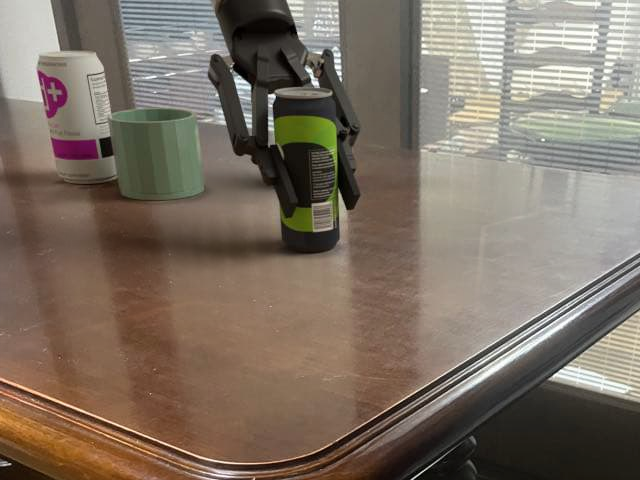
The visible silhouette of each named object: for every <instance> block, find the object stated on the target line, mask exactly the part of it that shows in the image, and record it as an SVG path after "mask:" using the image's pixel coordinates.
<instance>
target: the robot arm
mask: <svg viewBox="0 0 640 480" xmlns="http://www.w3.org/2000/svg"><path fill="white" fill-rule="evenodd" d="M209 2H210V3H211V6H212V9H213V13H214V15H215V17H216V19H217V22H218V25H219V28H220V32H221V35H222V37H223V39H224V42H225V45H226V48H227V51H228V53H229V55H226V56H223V57H222V56H221V55H220V54H218V53H213V54H211V56H210V58H209V65H208V69H207V78H208V80H209V81H210V82H211V84H212V86H213V87H214V89H215V90H216V92H217V95H218V98H219V103H220V106H221V111H222V114H223V117H224V122H225V125H226V129H227V132H228V136H229V140H230V143H231V147H232V151H233V154H235V156H237V157H243V156H245V155H247V156H250V162H251V163H252V164H253V165H255V166H257V168H258V170H259V173H260V175H261V179H262V181H263V183H264V184H265V185H266V187H271V186H273V188H274V190H275V194H276V197H277V200H278V203H280V205H281V208H282V211H283V214H284V217H285V218H292V216H293V214H294V211H295V209H296V207H297V204H298V200H297V197H296V195H295V192H294V189H293V186H292V184H291V181H290V178H289V175H288V172H287V170H286V167H285V164H284V161H283V159H282V156H281V153H280V150H279V148H278V145H277V144H275V143H274V144H270V145H269V95H274V91H275V90H278V89H283V88H293V87H315V85H314V84H313V82H312V76H313V78H314V79H316V80H317V83H318V86H319V87H318V88H325V89H329V90H331V91H332V95H331V97H332V99H333V100H334V102H335V108H336V138H337V168H338V192H339V193H340V195H341V199H342V202H343V204H344V207H345V209H346V211H353V210H354V209H355V207H356V206H357V203H358V201H359V199H360V197H361V191H360V188H359V185H358V183H357V180H356V178H355V175H354V174H355V172H356V170H357V164H358V163H357V161H356V159H355V156H354V152H353V153H352V150H351V147H350V146H352V145H354V146H355V144H356V141H357V139H358V136H359V135H360V132H361V130H362V125H361V123H360V120H359V118H358V116H357V113H356V112H355V109H354V107H353V105H352V103H351V101H350V98H349V96H348V94H347V92H346V90H345V87H344V85H343V83H342V81H341V79H340V76H339V74H338V72H337V70H336V67H335V65H336V64H335V54H334V52H333V50H331V49H329V48H324V49H323V50H322V52H321V53H317V52H311V51H309V50H308V48H307V47H306V45H305V44H304V43H303V42H302V41H301V39H300V38H299V34H298V30H297V26H296V22H295V19H294V17H293V15H292V11H291V8H290V6H289V3H288V1H287V0H210V1H209ZM306 67H308V68H310V71H311V72H312V76H311V75H310V73H309V72H308V71H307V68H306ZM234 73H235V74H236V75H238V76H239V77H240V78H242V79H243V80H244V81H245V82H246V83H247V84H249V85H250V103H251V135H250V134H249V129H248V126H247V122H246V118H245V115H244V111H243V108H242V104H241V99H240V97H239V92H238V89H237V85H236V82H235V78H234ZM354 143H355V144H354Z"/></svg>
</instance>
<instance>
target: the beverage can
mask: <svg viewBox="0 0 640 480" xmlns="http://www.w3.org/2000/svg"><path fill="white" fill-rule="evenodd" d="M273 95H274V96H275V98H274V101H273V102H272V105H271V106H272V119H273V120H272V121H273V133H274V134H273V136H274V144H277V145H278V148H279V150H280V153H281V156H282V159H283V161H284V164H285V167H286V170H287V172H288V175H289V178H290V181H291V184H292V186H293V189H294V192H295V195H296V197H297V200H298V204H297V207H296V209H295V211H294V214H293V216H292V218H285V217H284V214H283V211H282V208H281V205H280V203H279V202H278V203H279V218H280V234H281V241H282V242H283V243H284V244H285V245H286V247H287V248H288V249H289V250H290V251H294V252H298V253H305V254H307V253H312V254H313V253H321V252H322V253H323V252H327V251H330V250H332V249H334V248H335V247H336V245H337V243H338V242H339V241H340V239H341V232H340V231H341V230H340V202H339V188H338V168H337V138H336V108H335V102H334V100H333V99H332V97H331V95H332V91H331V90H329V89H325V88H320V87H315V86H314V87H293V88H283V89H278V90H275V91H274V93H273Z"/></svg>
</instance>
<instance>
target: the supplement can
mask: <svg viewBox="0 0 640 480" xmlns="http://www.w3.org/2000/svg"><path fill="white" fill-rule="evenodd" d="M97 55H98V54H97V53H96V52H95V51H91V50H90V51H89V50H57V51H46V52H40V53H38V59H37V64H36V74H37V78H38V84H39V88H40V93H41V98H42V103H43V107H44V112H45V116H46V121H47V127H48V132H49V136H50V141H51V146H52V152H53V156H54V160H55V165H56V171H57V175H58V176H59V177H60V178H62V179H63V181H64V182H67V183H70V184H76V185H77V184H78V185H91V184H103V183H106V182H107V183H108V182H111V181H113V180H116V179H118V178H117V172H116V166H115V160H114V154H113V148H112V142H111V136H110V130H109V124H108V119H107V117H108V115H110V114H112V109H111V103H110V97H109V92H108V85H107V80H106V73H105V68H104V67H105V66H104V65H103V63H102V61H101V60H100V58H99V57H98V56H97Z"/></svg>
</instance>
